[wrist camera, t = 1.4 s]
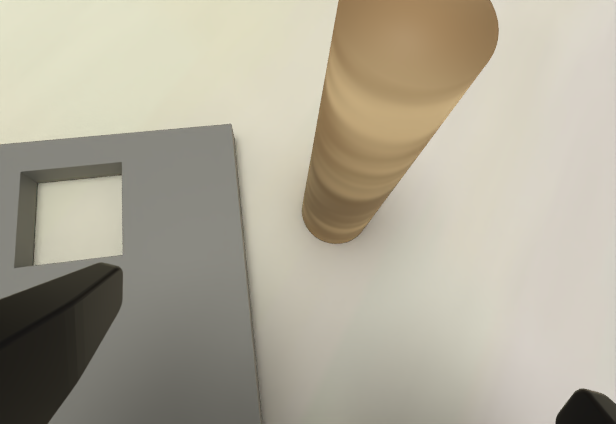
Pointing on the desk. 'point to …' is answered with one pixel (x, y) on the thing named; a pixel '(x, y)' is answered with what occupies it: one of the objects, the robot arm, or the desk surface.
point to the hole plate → (151, 274)
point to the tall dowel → (387, 100)
